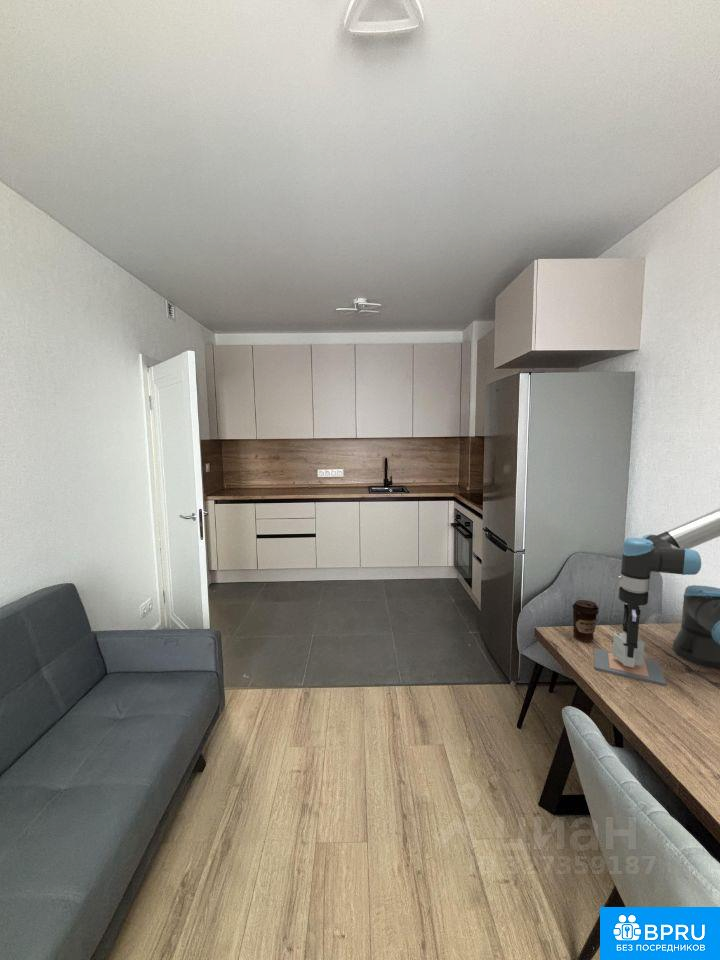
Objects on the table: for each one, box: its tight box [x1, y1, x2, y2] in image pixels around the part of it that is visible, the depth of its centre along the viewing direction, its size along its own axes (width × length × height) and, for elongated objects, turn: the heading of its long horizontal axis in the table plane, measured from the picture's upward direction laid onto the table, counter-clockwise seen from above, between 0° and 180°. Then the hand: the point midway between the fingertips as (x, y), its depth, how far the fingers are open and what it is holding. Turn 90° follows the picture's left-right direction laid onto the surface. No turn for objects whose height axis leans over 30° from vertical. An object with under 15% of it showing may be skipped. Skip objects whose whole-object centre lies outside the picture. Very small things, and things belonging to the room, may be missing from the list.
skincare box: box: [612, 632, 645, 665], centre depth 131 cm, size 6×6×7 cm
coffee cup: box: [572, 599, 600, 643], centre depth 148 cm, size 9×8×13 cm
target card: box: [593, 647, 667, 687], centre depth 131 cm, size 18×13×1 cm
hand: (627, 658), depth 131 cm, fingers closed on skincare box, 8 cm apart
